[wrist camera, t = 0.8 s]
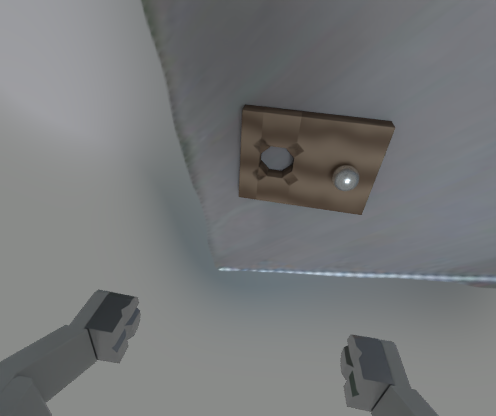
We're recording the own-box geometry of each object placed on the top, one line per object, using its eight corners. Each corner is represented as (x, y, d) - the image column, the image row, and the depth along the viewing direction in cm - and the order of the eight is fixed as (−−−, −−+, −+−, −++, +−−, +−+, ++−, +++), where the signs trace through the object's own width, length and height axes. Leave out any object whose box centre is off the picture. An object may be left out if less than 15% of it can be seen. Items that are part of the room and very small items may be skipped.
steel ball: (334, 159, 45) (336, 171, 42) (360, 162, 44) (364, 175, 41) (328, 180, 47) (330, 194, 44) (353, 184, 47) (356, 198, 44)
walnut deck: (245, 104, 45) (242, 110, 43) (391, 121, 42) (395, 127, 40) (241, 189, 54) (238, 196, 52) (359, 206, 52) (361, 215, 50)
